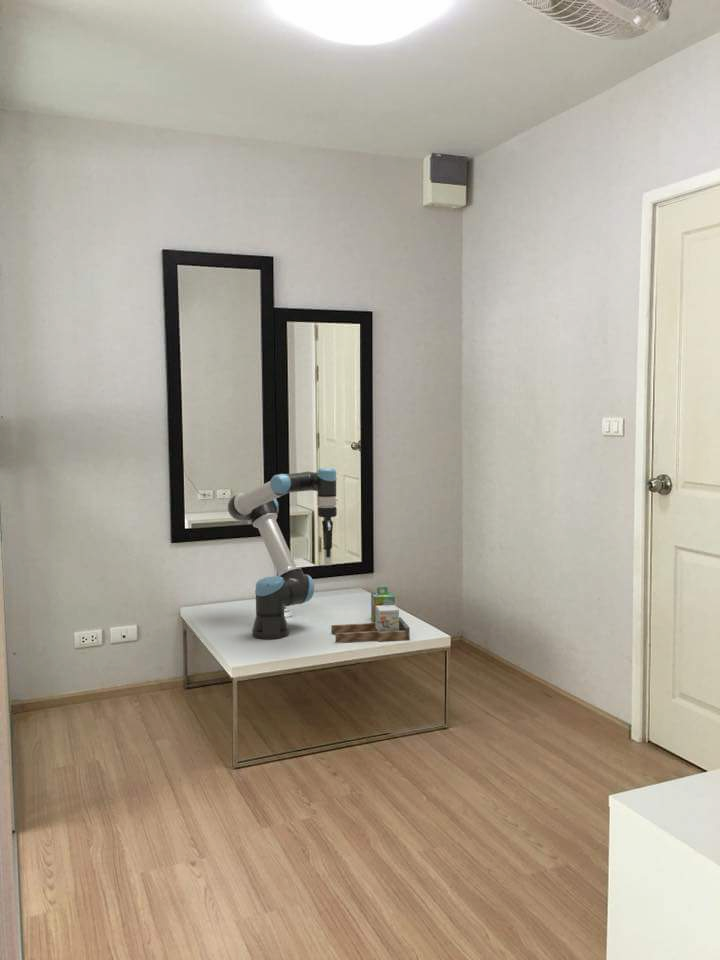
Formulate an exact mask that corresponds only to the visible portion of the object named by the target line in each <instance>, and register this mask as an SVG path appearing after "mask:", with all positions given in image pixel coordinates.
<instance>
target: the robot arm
mask: <svg viewBox="0 0 720 960" xmlns="http://www.w3.org/2000/svg"><path fill="white" fill-rule="evenodd" d="M316 471H317V472H316ZM316 471H315V472H314V471H302V472H296V473H280V474H279V473H278V474H274V475H273V476H272V478H271V479H270V480H269V481H267V482H265V483H264V484H262V485H259V486H257V487H255V488H253V489H251V490H249V491H247V492H240V493H238V494H236V495H234V496H232V497H231V498H230V499H229V501H228V503H227V511H228V513H229V515H230V517H232V518H233V519H235V520H236V521H238V522H239V521H240V522H241V521H242V522H246V521H250V522H251V524H252V526H253V528H257V529H258V531H259V534H260V536H261V538H262V541H263V543H264V545H265V547H266V550H267V552H268V554H269V557H270V559H271V562H272V563H273V564H272V565H273V566H274V568H275V571H276V573H277V575H273V576H266V577H263V578H260V579H259V580H257V582H256V584H255V591H254V593H255V619H254V622H253V623H254V624H253V626H252V631H251V633H252V634H251V636H252V637H253V638H257V639H262V640H275V639H282V638H286V637H287V636H288V635H289V634H290V629H289V624H288V623H287V619H286V617H285V607H290V606H295V605H301V604H303V603H304V604H305V603H307V602H309V601H310V600H312V598H313V596H314V592H315V583H314V579H313V578H312V576H311V575H309V574H307V573H305V574H304V572H303V569H302V568H301V567H300V566H299V567H298V566H297V564H296V563H295V561H294V558H293V556H292V554H291V552H290V549H289V547H288V545H287V542H286V539H285V538H284V535H283V533H282V531H281V528H280V526H279V524H278V522H277V519H278V514H279V502H278V500H277V499H278V498H280V497H282V496H285V495H287V494H289V493H297V492H298V493H299V492H308V491H313V492H317V506H318V508H317V516H318V517H319V518H323V520H322V521H321V524H322V536H323V537H322V538H323V540H322V541H323V542H322V543H323V547H322V549H323V552H324V553H323V554H324V555H323V556H324V557H323V559H324V560H323V561H324V566H332V549H333V528H334V527H333V526H334V522H333V520H332V518H334V517H337V511H338V510H337V509H338V508H337V507H336V506H337V501H338V500H339V498H338V497H337V478H338V477H337V471H336V469H335V468H333V467H321V468H318V469H317V470H316Z"/></svg>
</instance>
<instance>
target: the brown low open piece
mask: <svg viewBox="0 0 720 960" xmlns="http://www.w3.org/2000/svg"><path fill="white" fill-rule="evenodd" d="M375 625H376V622H373V621H371V622H370V623H368V622H367V623H348V624H332V625H330V627H331V628H330V629H331V633H332V634H331V633H330V634H331V635H335V637H334V639H335V640H334V641H335V643H336V642H339V643H338V644H340V642H342V643H357V642H374V641H375V642H376V641H378V642H394V641H395V642H396V641H409V640H411V639H410V638H411V637H410V636H411V635H410V634H411V633H410V629H411V628H410V627H409V625H408V624H407V622H405V621H404V620H403V618H402V617H401V616H399V631H387V632H377V631H375Z"/></svg>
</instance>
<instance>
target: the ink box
mask: <svg viewBox="0 0 720 960" xmlns="http://www.w3.org/2000/svg"><path fill="white" fill-rule="evenodd" d="M399 617H400V609H399V608H398V607H397V605H395V604H394V605H382V606H376V625H375V631H377V632H387V631H399Z"/></svg>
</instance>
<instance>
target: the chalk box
mask: <svg viewBox="0 0 720 960" xmlns="http://www.w3.org/2000/svg"><path fill="white" fill-rule="evenodd" d="M381 590H384V592H381ZM370 596H371V597H370V598H371V599H370V600H371V601H370V603H371V604H370V612H371V613H370V618H371V620H372V622H376V606H382V605H395V596H394V595H393V594H392V593H391V592H389V591H388V586H378V587H376V592H371V594H370Z"/></svg>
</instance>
